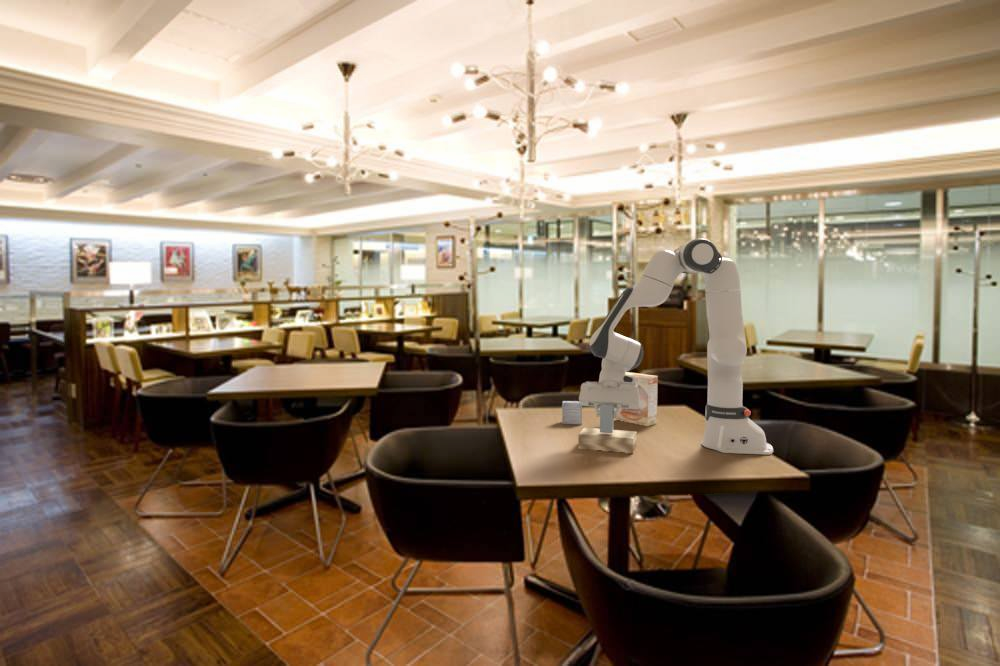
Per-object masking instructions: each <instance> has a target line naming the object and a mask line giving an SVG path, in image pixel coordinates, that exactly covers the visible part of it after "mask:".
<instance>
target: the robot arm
mask: <svg viewBox="0 0 1000 666" xmlns="http://www.w3.org/2000/svg"><path fill="white" fill-rule="evenodd" d="M737 267H738V266H737V264H736V263H735V261H734V260H732V259H731V258H728V257H722V255H721V253H720V251H718V248H717V247H716V246H715V244H714V243H713V242H712V241H710V240H709V239H706V238H702V237H701V238H700V237H699V238H694V239H691V240H689V241H686V242H685V243H684V244H682V245H681V246H679V247H677V249H675V250H674V251H672V250H669V249H659V250H657V251H656V252H654V253H653V255H652V256H651V258H650V259H649V261H648V263H647V264H646V266H645V268H644V270H643V272H642V274H641V277H640V278H639V280H638V281H637V282H636V283H635V284H633V286H629V287H626V288H625V289H624V290H623V291H622V293H620V295H619V297H618V298H617V300H616V301H615V302H614V304H613V305H612V307H611V309H610V310H609V311H608V313H607V314H606V316H605V317H604V319H603V320H602V322H601V324H600V325H599V326H598V327H597V328H596V330H595V331H594V333H593V334H592V335H591V337H590V340H589V343H588V346H589V350H590V351H591V353H592V354H593V356H594V357H598V358H601V359H602V360H601V371H600V373H599V379H598V381H590V380H589V381H585V382H583V383H581V385H580V392H579V396H578V400H579V402H580V404H581V405H582V407H583V406H584V407H594V409H595V412H596V413H595V416H596V417H598V418H600V405H601V404H614V409H616V410H614V411H613V418H614V419H616V418H617V417H618V414H619V413H620V412H621V411H622V408H625V409H638V408H639V406H640V400H639V391H638V386H637V381H636V379H635V378H633V377H629V376H626V375H625V373H626V372H630V371H632V370H634V369H635V368H637V367H638V366H640V364H641V363H642V361H643V358H644V347H643V346H642V343H641V342H639V341H637V340H635V339H632V338H631V337H627V336H624V335H622V334H621V333H617V332H615V331H614V330H615V328H616V327H617V325H618V323H619V322H620V321H621V319H622V317H623V316H624V315H625V313H626V312H627V311H628V310H629V309H632V308H634V307H636V308H637V307H638V308H639V307H648V308H649V307H650V308H653V307H657V306H660V305H661V304H663V303H665V302H667V300H668V298H669V297H670V295H671V293H672V290H673V288H674V285H675V283H676V280H677V279H678V277H679V276H680V275H681V274H691V275H692V274H700V275H701V276H702V278H703V280H704V290H705V306H706V317H707V318H706V319H707V325H708V333H709V339H708V342H707V343H706V344H707V347H706V348H707V351H706V354H707V356H706V357H707V360H706V361H707V403H706V405H705V413H704V414H705V415H704V416H705V417H704V418H705V420H706V421H705V427H704V432H703V433H704V434H703V436H702V440H701V442H700V444H701V445H702V446H704V447H705V448H707V449H711V450H715V451H718V452H720V453H723V454H740V455H741V454H742V455H743V454H744V455H747V454H748V455H766V456H767V455H768V456H769V455H771V454H773V453H774V448H773V446H772V445H771V443H768V442H767V438H766V433H765V431H764V430H763V429H762V428H761V426H759V425H758V424H756V423H755V422H754V421H753V420H752V419H751V418H750V416H751V412H752V411H751V410H750V409H749V408H747V407H746V406H744V405H743V391H744V389H743V388H744V384H743V383H744V382H743V371H742V370H743V368H742V362H743V361H744V360H745V359H746V357H747V352H748V349H747V348H748V347H747V341H746V340H747V339H746V330H745V323H744V318H743V309H742V308H743V307H742V294H741V293H742V292H741V290H742V289H741V282H740V277H739V270H738V268H737Z"/></svg>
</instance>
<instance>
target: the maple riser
mask: <svg viewBox="0 0 1000 666" xmlns="http://www.w3.org/2000/svg"><path fill="white" fill-rule="evenodd" d="M637 435H638V434H637V431H633V430H619V429H614V431H613V432H612V433H603V432H600V428H596V427H595V428H594V427H583V428H582V429H581V431H580V432H579V433H578V443H577V444H578V445H577V446H578V447H577V448H578V450H579V449H580V450H587V449H589V451H597V450H602V451H601V452H608V451H615V452H614V453H619V452H625V453H624V454H629V453H633V452H634V453H635V451H634V450H636V449H637V438H638V437H637ZM634 453H633V454H634Z"/></svg>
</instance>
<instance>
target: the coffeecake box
mask: <svg viewBox="0 0 1000 666" xmlns="http://www.w3.org/2000/svg"><path fill="white" fill-rule="evenodd" d="M625 375H626V376H629V377H633V378H635V379H636V381H637V386H638V391H639V400H640V406H639V408H638V409H625V408H622V411H621V412H620V413H619V414H618V417H617V418H615V419H617V420H616V421H618V420H620V421H619V422H623V421H624V423H628V422H629V424H633V423H634V425H638V424H639V426H643V425H644V427H651V426H654V425H657V424H658V417H657V416H658V384H659V383H658V380H659V376H658V375H654V374H653V375H652V374H645V373H640V372H639V373H637V372H630V371H626V373H625ZM650 425H651V426H650Z"/></svg>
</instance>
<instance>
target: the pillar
mask: <svg viewBox="0 0 1000 666" xmlns="http://www.w3.org/2000/svg"><path fill="white" fill-rule="evenodd" d="M599 410H600V417H599V429H600V432H603V433H612V432H613V431H614V430H615V427H614V424H615V423H614V421H615V420H614V419H615V418H613V411H615V408H614V404H601V405H600V407H599Z"/></svg>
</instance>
